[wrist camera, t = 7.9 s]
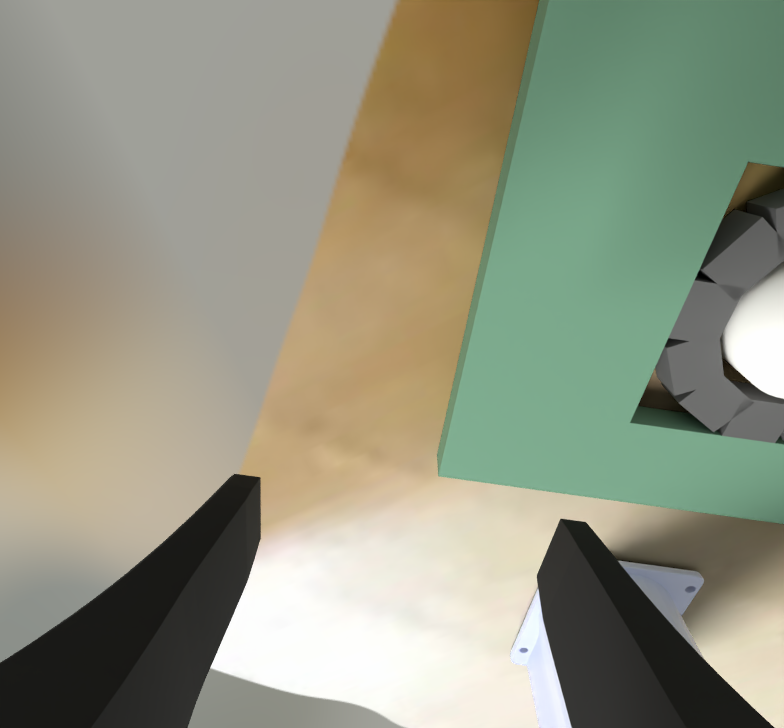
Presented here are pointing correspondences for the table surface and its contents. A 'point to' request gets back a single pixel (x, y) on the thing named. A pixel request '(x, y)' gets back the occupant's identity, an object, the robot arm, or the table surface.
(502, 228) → the mat
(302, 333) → the table surface
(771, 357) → the white smooth pebble
